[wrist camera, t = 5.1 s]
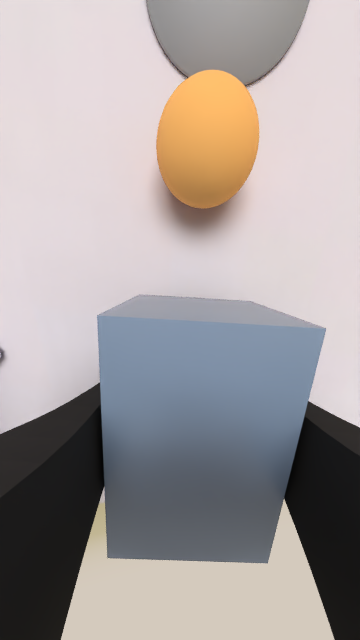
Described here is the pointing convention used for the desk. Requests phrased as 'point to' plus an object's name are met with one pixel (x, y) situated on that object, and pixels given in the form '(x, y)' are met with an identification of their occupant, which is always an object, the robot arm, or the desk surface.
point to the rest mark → (226, 34)
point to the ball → (207, 139)
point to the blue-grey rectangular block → (200, 424)
